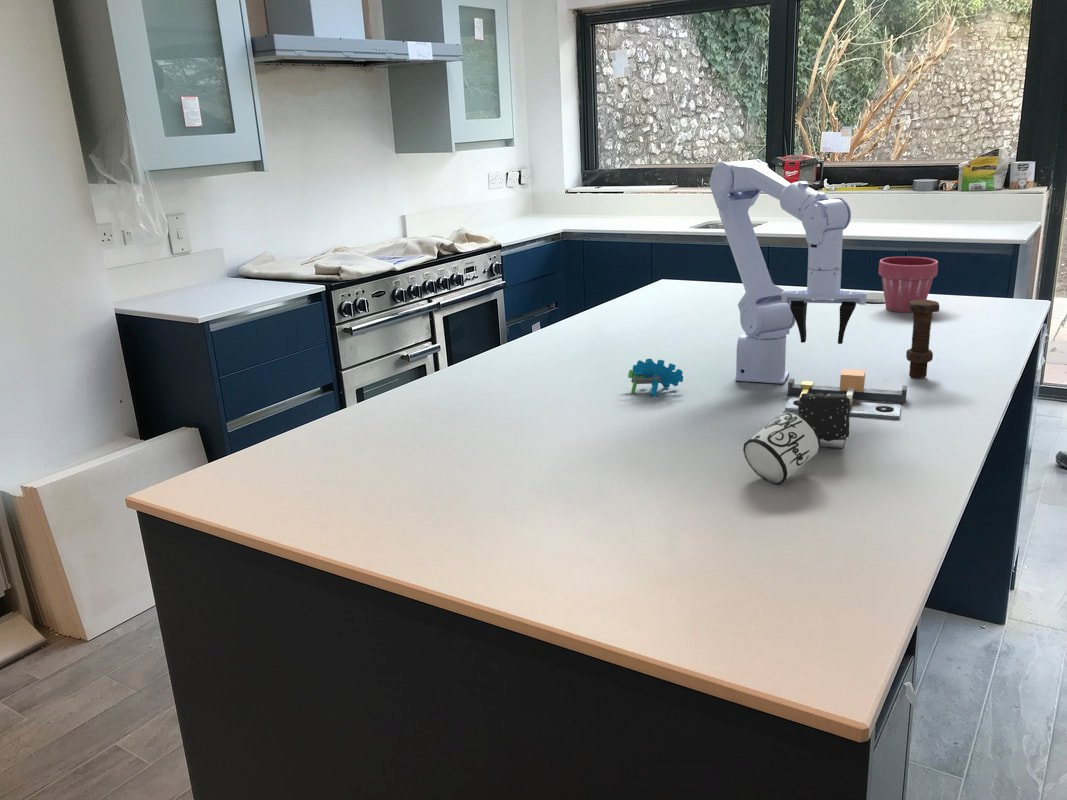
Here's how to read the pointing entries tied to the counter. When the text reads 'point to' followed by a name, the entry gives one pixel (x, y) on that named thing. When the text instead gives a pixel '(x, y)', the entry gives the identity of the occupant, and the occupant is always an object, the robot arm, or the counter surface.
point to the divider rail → (863, 396)
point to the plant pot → (906, 280)
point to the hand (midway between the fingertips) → (821, 342)
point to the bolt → (921, 337)
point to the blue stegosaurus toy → (654, 375)
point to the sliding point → (852, 381)
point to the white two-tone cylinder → (798, 436)
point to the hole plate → (860, 409)
